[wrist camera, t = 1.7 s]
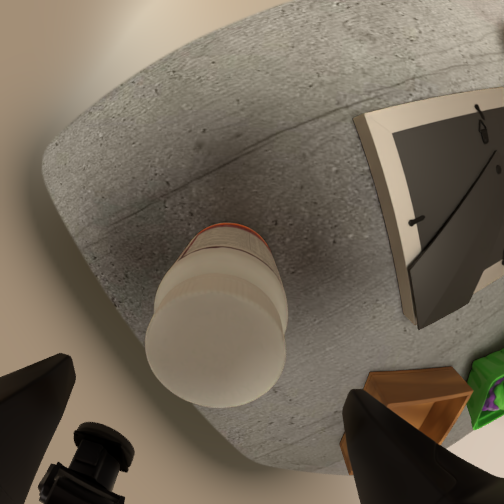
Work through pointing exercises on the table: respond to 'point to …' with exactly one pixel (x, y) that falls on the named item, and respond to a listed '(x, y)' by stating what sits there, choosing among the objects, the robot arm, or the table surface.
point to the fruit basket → (486, 389)
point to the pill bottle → (219, 320)
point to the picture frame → (440, 196)
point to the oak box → (419, 399)
